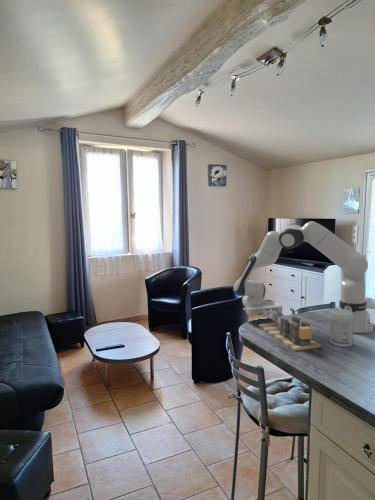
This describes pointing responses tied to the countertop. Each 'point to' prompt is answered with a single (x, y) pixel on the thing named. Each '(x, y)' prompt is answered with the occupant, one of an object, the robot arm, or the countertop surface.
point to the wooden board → (290, 334)
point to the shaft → (277, 315)
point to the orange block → (305, 332)
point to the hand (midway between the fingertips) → (270, 313)
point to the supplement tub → (341, 327)
